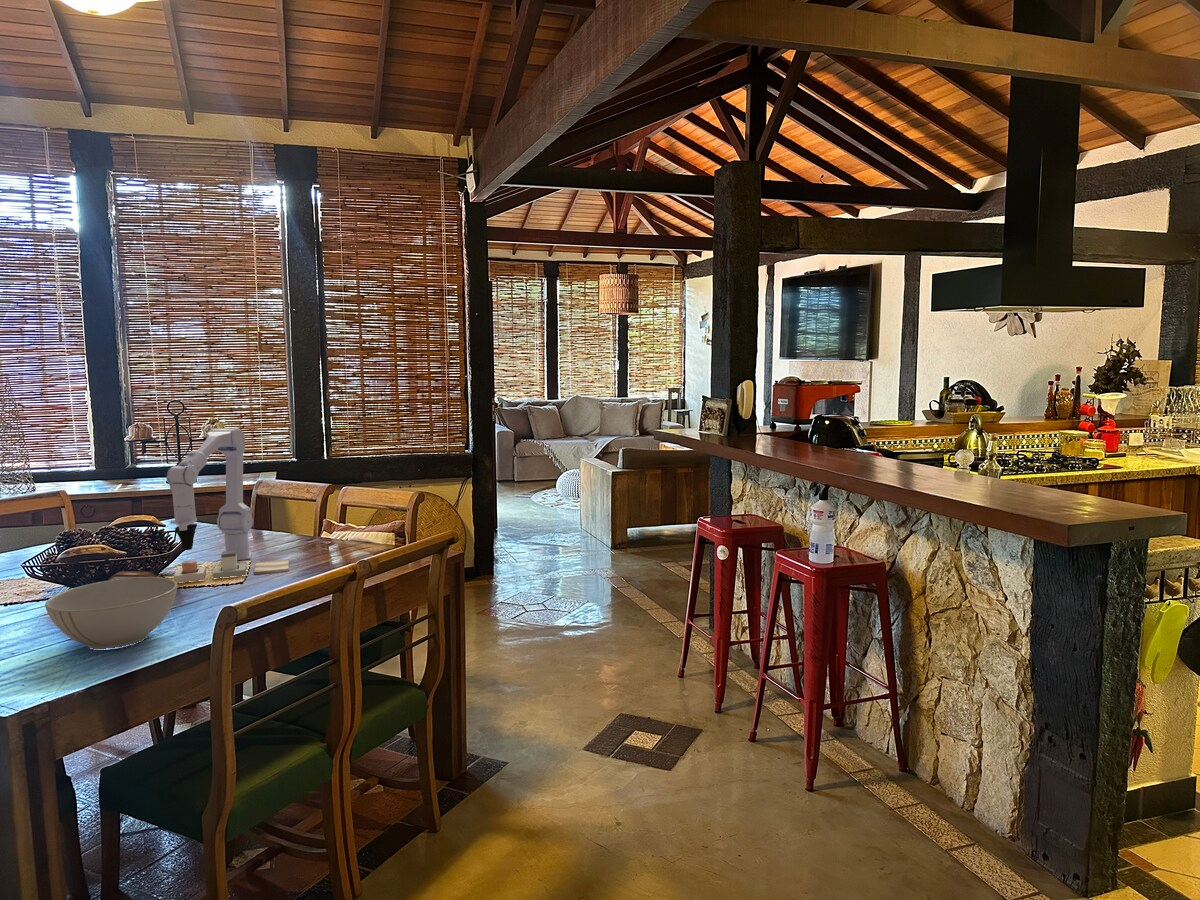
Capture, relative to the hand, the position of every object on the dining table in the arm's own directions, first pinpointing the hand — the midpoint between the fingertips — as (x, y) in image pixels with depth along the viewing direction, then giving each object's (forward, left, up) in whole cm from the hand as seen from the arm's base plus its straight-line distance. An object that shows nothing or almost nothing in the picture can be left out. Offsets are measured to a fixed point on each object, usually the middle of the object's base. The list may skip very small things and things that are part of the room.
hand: (188, 549), depth 241 cm
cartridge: (-1, +11, -9) cm, 15 cm away
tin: (+18, -12, -10) cm, 24 cm away
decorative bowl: (+53, -10, -10) cm, 55 cm away
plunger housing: (0, 0, -9) cm, 9 cm away
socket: (-1, +11, -9) cm, 15 cm away
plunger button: (0, 0, -7) cm, 7 cm away
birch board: (-3, +23, -9) cm, 25 cm away
